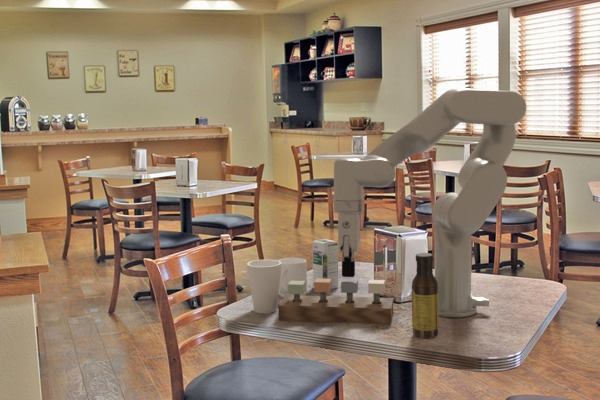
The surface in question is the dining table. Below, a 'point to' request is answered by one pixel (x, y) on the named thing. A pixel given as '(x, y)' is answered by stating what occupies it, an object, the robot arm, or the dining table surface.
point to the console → (336, 309)
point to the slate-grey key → (349, 288)
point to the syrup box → (325, 260)
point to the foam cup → (264, 284)
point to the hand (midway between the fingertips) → (348, 276)
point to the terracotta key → (322, 287)
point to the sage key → (296, 289)
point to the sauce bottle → (425, 299)
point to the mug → (292, 274)
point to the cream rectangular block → (376, 289)
